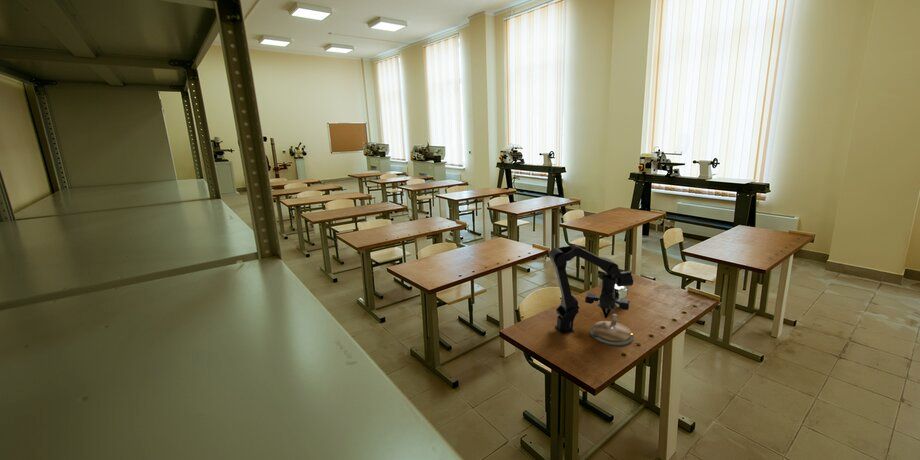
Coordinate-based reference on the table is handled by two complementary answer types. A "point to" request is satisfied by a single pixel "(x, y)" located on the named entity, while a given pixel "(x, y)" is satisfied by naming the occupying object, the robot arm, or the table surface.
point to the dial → (612, 330)
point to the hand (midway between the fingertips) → (605, 318)
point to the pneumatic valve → (620, 292)
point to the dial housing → (609, 341)
